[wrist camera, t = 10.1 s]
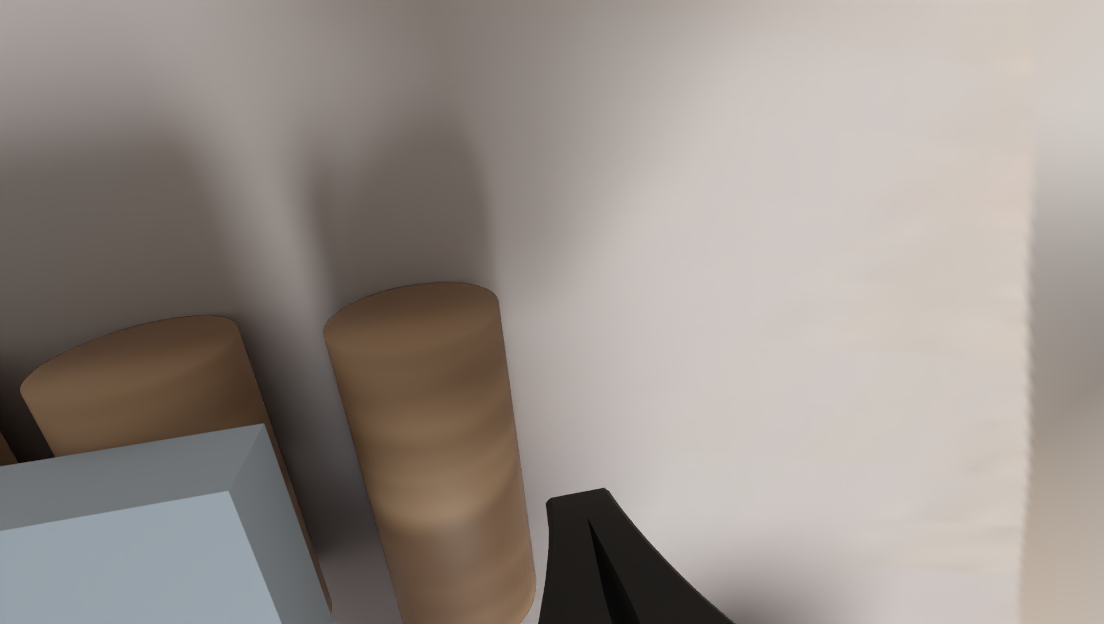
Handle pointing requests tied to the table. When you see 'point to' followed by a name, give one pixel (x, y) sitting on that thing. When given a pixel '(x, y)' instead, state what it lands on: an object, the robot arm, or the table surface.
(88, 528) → the slab
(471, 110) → the table surface
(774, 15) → the table surface
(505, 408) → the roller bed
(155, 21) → the table surface
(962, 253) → the table surface
